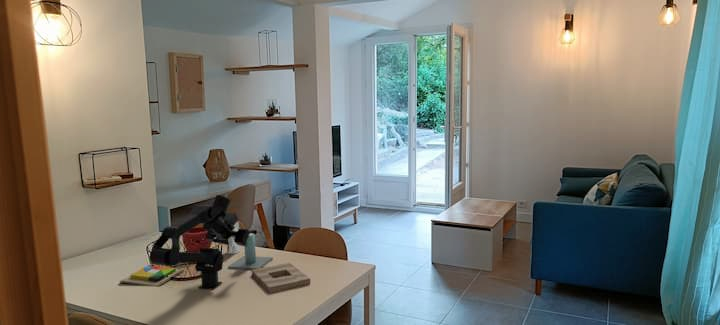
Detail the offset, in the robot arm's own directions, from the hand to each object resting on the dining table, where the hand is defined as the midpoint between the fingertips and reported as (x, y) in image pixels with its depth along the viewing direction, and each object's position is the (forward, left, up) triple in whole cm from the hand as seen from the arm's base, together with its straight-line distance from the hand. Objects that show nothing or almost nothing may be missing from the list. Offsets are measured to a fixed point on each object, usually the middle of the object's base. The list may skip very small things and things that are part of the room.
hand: (237, 244), depth 207 cm
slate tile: (+8, -1, -11) cm, 13 cm away
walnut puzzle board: (-7, -21, -11) cm, 25 cm away
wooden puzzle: (-13, +32, -12) cm, 36 cm away
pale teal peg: (+8, -1, -10) cm, 13 cm away
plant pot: (+16, +29, -11) cm, 35 cm away
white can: (+22, +15, -11) cm, 29 cm away
